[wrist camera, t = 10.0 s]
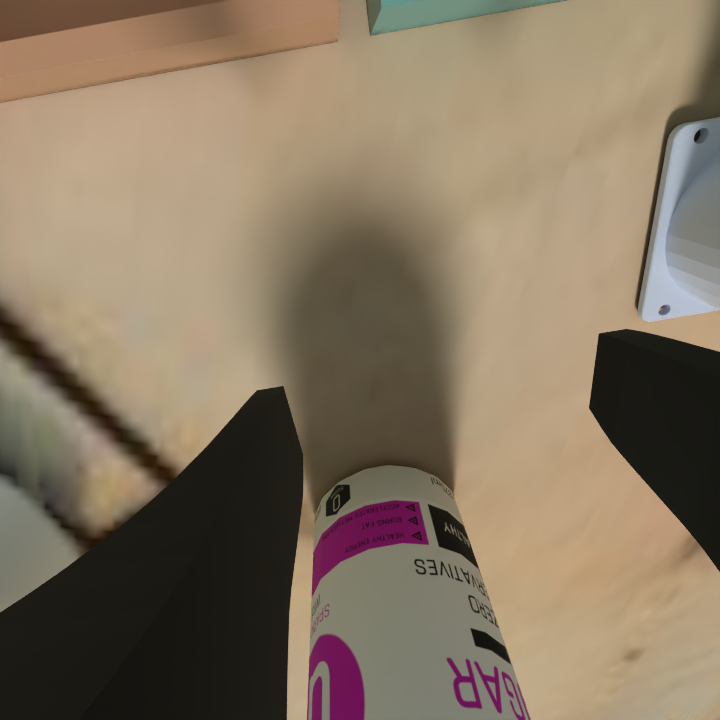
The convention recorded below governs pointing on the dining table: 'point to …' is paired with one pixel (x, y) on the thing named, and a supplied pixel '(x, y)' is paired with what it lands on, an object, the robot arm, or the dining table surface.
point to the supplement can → (402, 608)
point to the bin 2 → (434, 11)
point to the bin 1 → (145, 38)
